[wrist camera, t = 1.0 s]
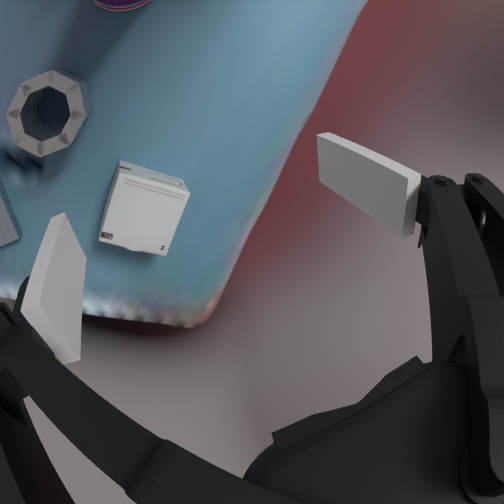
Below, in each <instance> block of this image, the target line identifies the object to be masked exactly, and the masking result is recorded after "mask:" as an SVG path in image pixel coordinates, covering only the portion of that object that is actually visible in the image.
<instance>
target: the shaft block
mask: <svg viewBox="0 0 504 504" xmlns="http://www.w3.org/2000/svg"><path fill="white" fill-rule="evenodd" d="M21 234H22V231H21V228H20V226H19V224H18V221H17V219H16V217H15V214H14V212H13V209H12V207H11V204H10V202H9V199H8V197H7V194H6V192H5V189H4V186H3V183H2V181H1V178H0V246H3V245H5V244H8V243H10V242H12V241H15V240H17V239H20V236H21Z"/></svg>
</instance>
